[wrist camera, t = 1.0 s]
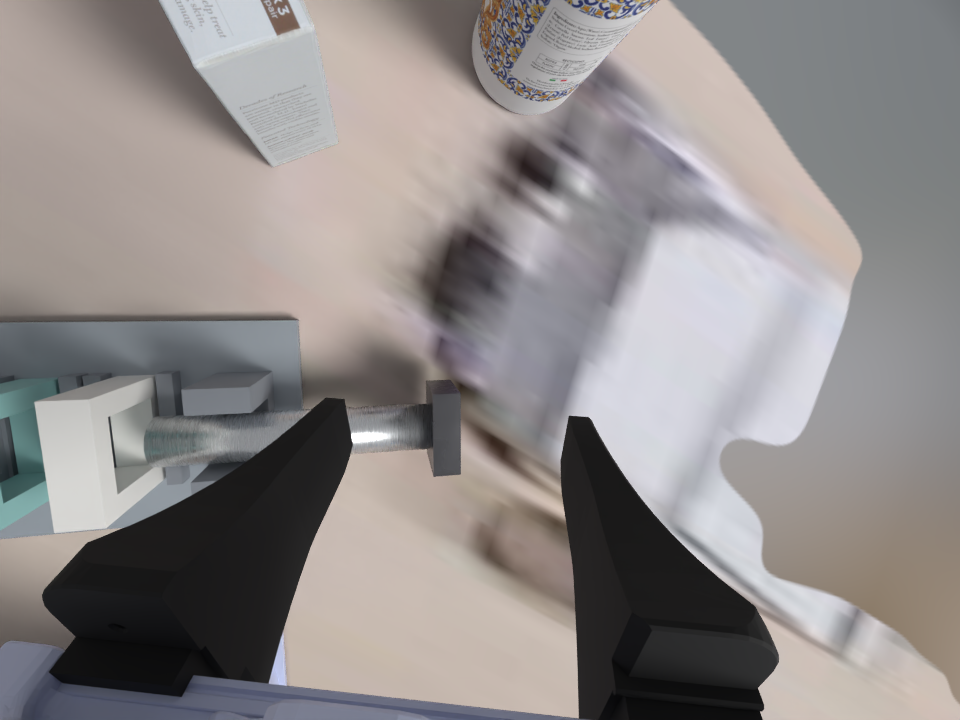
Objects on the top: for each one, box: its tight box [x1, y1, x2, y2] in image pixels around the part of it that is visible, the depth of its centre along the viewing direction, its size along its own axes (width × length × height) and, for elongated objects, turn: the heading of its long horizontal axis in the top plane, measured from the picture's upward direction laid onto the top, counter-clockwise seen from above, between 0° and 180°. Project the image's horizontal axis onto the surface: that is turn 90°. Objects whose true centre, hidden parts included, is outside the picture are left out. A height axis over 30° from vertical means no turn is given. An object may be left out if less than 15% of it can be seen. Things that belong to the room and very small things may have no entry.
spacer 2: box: [34, 375, 166, 533], centre depth 22 cm, size 6×2×6 cm, turn 0°
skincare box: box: [158, 0, 338, 167], centre depth 19 cm, size 6×4×12 cm
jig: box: [0, 320, 303, 539], centre depth 23 cm, size 12×20×5 cm, turn 90°
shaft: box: [144, 380, 461, 477], centre depth 24 cm, size 5×16×4 cm, turn 89°
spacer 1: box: [0, 378, 60, 531], centre depth 21 cm, size 6×2×6 cm, turn 0°
